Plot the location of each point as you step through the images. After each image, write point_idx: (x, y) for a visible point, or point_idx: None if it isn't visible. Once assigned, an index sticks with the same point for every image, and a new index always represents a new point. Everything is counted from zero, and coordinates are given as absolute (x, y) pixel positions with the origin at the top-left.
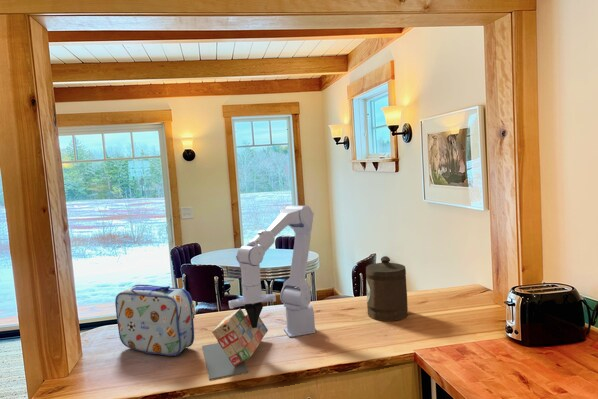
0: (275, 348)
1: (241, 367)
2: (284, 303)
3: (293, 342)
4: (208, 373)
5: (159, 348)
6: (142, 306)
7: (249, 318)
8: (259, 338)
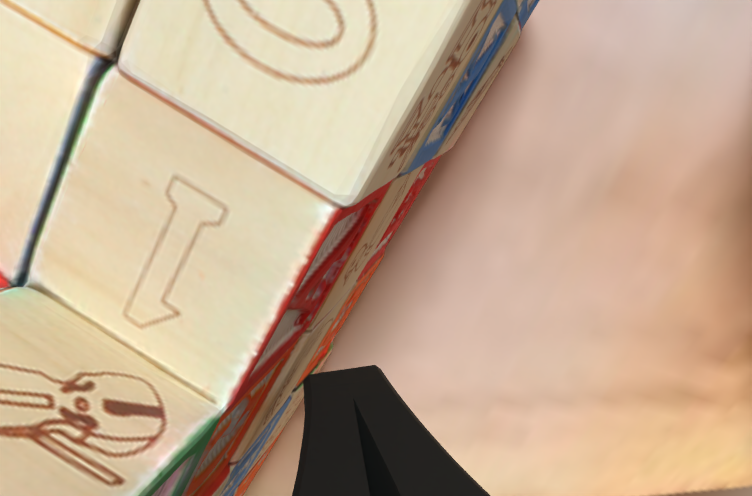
0: (500, 175)
1: None
2: None
3: (701, 109)
4: None
5: None
6: None
7: (298, 485)
8: (374, 265)
